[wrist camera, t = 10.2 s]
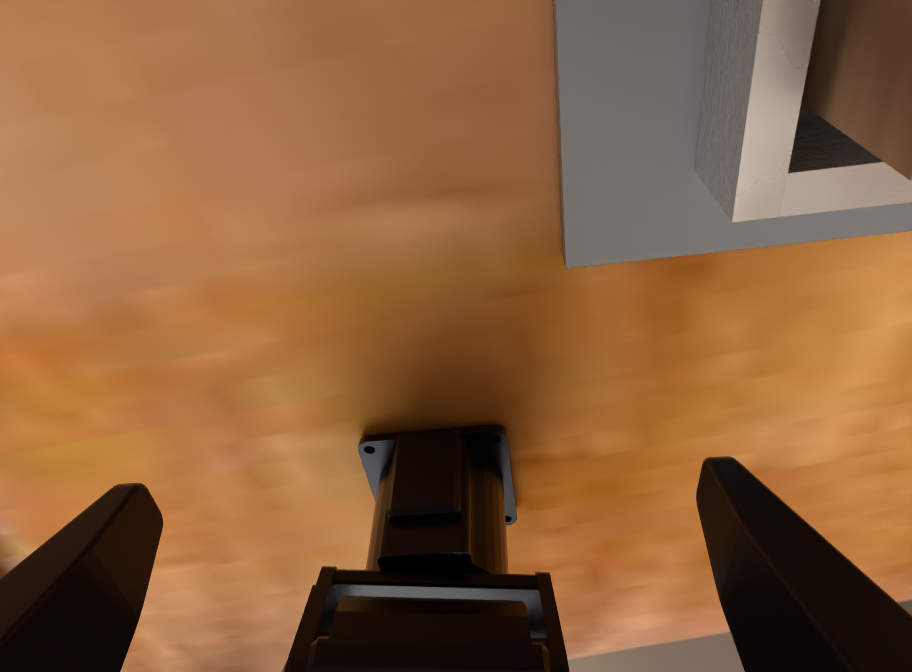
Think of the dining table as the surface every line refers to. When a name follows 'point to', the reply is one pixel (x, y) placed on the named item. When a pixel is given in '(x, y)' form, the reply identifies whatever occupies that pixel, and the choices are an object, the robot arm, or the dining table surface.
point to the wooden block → (865, 75)
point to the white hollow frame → (776, 121)
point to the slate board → (655, 142)
